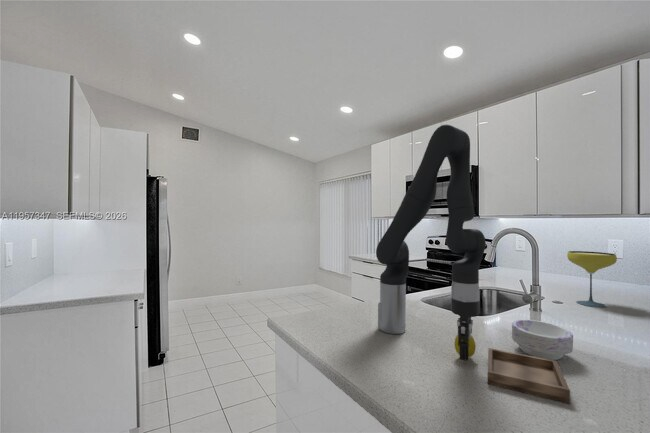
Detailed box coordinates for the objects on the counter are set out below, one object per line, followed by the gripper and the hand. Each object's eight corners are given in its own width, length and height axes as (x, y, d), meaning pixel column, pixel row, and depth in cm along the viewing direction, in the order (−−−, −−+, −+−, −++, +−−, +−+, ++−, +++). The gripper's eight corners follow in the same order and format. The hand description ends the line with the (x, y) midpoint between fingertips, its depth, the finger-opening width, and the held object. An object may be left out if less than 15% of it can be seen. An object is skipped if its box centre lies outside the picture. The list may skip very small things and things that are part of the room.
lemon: (477, 364, 84) (478, 335, 85) (456, 362, 86) (457, 334, 86) (472, 355, 90) (472, 328, 90) (452, 353, 91) (452, 327, 91)
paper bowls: (577, 370, 81) (577, 341, 82) (511, 356, 90) (511, 329, 90) (568, 350, 94) (568, 324, 94) (511, 339, 102) (511, 316, 102)
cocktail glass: (578, 307, 141) (578, 254, 141) (560, 298, 158) (560, 250, 158) (626, 311, 136) (626, 256, 136) (602, 301, 153) (602, 251, 153)
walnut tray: (487, 383, 74) (487, 371, 74) (488, 358, 88) (488, 347, 88) (569, 403, 67) (569, 390, 67) (556, 372, 80) (556, 360, 81)
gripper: (454, 290, 96) (453, 343, 96) (448, 301, 83) (447, 362, 83) (480, 293, 92) (480, 348, 92) (478, 305, 80) (478, 369, 80)
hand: (464, 355), depth 88 cm, fingers closed on lemon, 5 cm apart
